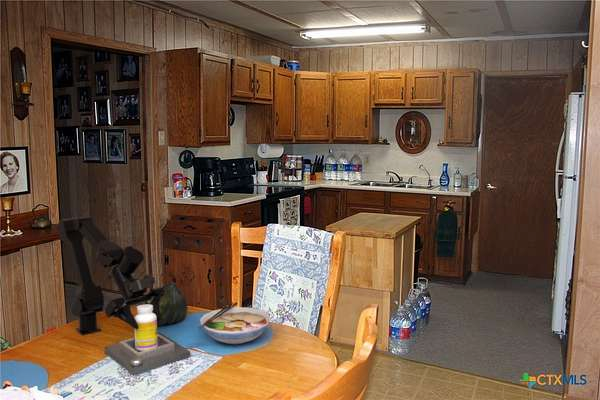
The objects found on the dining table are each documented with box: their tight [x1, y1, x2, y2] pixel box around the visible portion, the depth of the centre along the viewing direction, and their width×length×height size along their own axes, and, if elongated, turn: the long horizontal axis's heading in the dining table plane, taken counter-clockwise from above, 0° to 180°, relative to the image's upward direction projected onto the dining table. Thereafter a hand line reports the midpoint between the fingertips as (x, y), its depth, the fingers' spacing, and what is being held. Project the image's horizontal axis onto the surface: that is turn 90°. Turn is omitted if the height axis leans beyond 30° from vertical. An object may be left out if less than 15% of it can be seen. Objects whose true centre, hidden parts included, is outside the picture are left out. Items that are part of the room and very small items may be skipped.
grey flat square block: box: [104, 331, 191, 376], centre depth 161 cm, size 20×18×4 cm
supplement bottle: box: [133, 303, 158, 351], centre depth 160 cm, size 7×7×13 cm
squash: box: [144, 282, 189, 327], centre depth 188 cm, size 14×15×15 cm
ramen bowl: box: [197, 301, 272, 346], centre depth 172 cm, size 25×23×8 cm
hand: (148, 324), depth 159 cm, fingers open, 8 cm apart
